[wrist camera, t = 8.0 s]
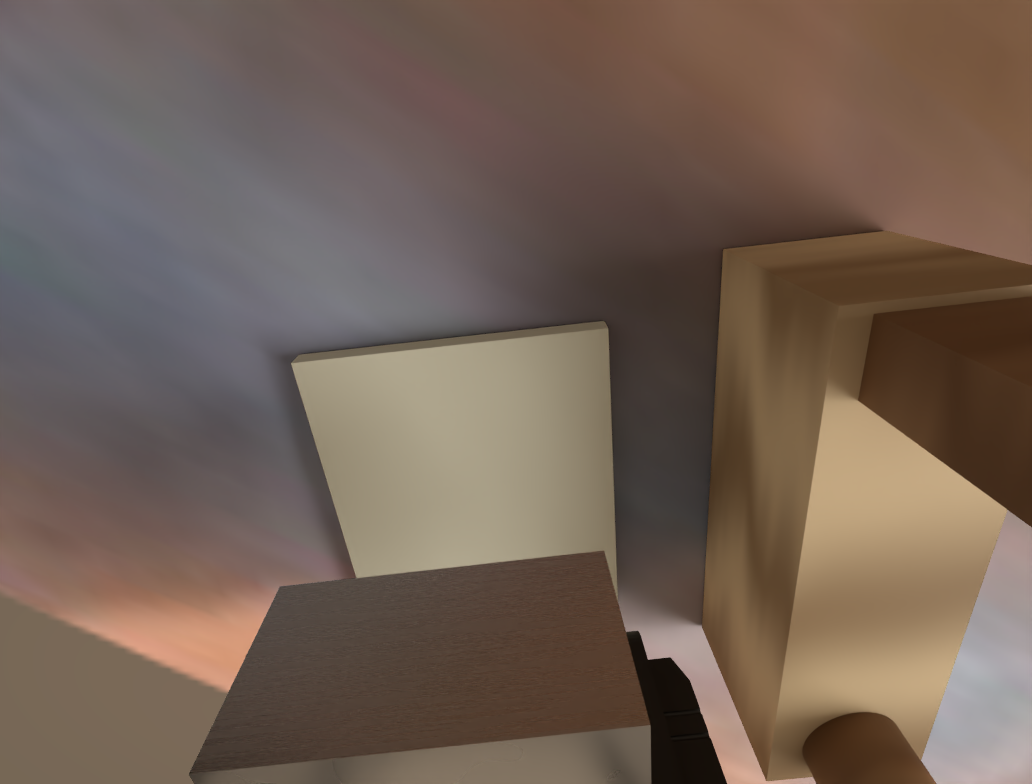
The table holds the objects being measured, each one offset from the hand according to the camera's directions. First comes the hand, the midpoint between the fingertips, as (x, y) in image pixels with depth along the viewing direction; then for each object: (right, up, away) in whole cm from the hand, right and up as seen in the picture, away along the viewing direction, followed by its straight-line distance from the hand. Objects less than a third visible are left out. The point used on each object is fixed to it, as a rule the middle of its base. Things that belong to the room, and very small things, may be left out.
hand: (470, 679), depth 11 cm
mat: (0, +3, +5) cm, 6 cm away
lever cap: (0, 0, 0) cm, 1 cm away
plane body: (+9, +4, +5) cm, 11 cm away
